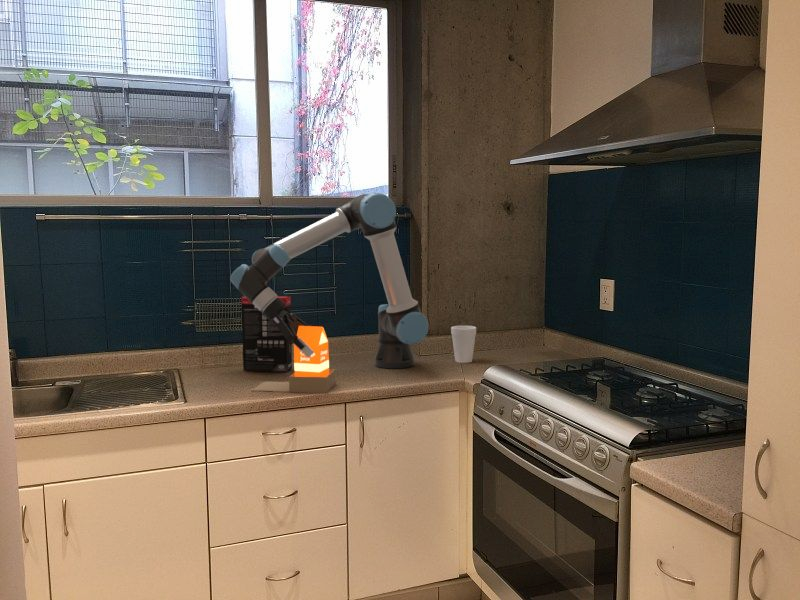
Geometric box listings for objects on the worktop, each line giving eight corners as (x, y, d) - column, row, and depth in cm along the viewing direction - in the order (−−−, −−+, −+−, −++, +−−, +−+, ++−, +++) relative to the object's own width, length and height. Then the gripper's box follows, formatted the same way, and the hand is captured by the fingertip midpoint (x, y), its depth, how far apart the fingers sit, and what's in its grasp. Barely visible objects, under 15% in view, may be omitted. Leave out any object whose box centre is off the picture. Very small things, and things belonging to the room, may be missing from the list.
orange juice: (319, 390, 220) (318, 328, 217) (294, 389, 222) (292, 327, 220) (329, 385, 227) (328, 324, 225) (305, 383, 230) (303, 323, 227)
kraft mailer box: (335, 384, 230) (335, 369, 230) (327, 392, 219) (326, 377, 218) (264, 382, 233) (263, 368, 233) (252, 391, 222) (251, 376, 221)
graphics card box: (293, 368, 255) (291, 295, 252) (288, 372, 248) (286, 297, 245) (248, 368, 257) (245, 295, 254) (242, 372, 250) (239, 297, 247)
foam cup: (480, 360, 266) (480, 326, 264) (469, 364, 258) (469, 330, 257) (458, 357, 271) (458, 324, 269) (446, 361, 263) (446, 328, 262)
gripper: (274, 307, 237) (318, 351, 236) (249, 318, 212) (298, 367, 212) (288, 292, 235) (333, 336, 235) (265, 301, 211) (314, 350, 210)
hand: (316, 351), depth 223 cm, fingers open, 13 cm apart
